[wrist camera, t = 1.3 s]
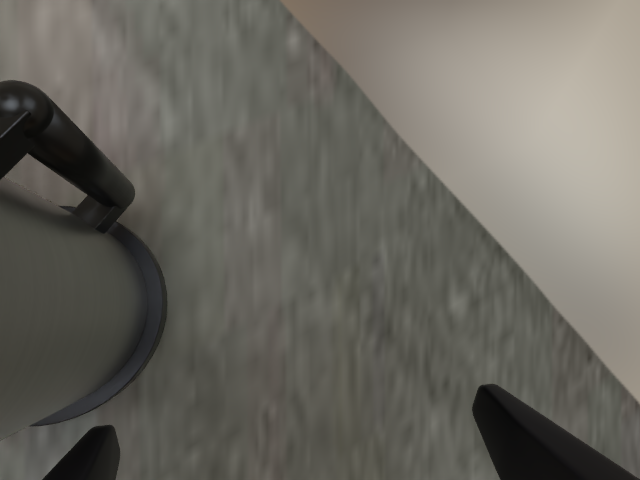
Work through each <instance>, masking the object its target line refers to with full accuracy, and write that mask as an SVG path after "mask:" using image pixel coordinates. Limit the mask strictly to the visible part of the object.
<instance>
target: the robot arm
mask: <svg viewBox="0 0 640 480" xmlns="http://www.w3.org/2000/svg"><path fill="white" fill-rule="evenodd" d="M472 411H473V416H474V419H475V421H476V423H477V426H478V428H479V431H480V433H481V435H482V438H483V440H484V442H485V445H486V447H487V450H488V452H489V454H490V457H491V459H492V462H493V464H494V466H495V469H496V471H497V473H498V475H499V477H500V479H501V480H640V479H638V478H637V477H635V476H634V475H632V474H631V473H629V472H628V471H626V470H625V469H623V468H622V467H620V466H619V465H617V464H616V463H614V462H613V461H611V460H610V459H608V458H607V457H605V456H604V455H602V454H601V453H599V452H598V451H596V450H595V449H593V448H591V447H590V446H588V445H587V444H585V443H584V442H582V441H581V440H579V439H578V438H576V437H575V436H573V435H572V434H570V433H569V432H567V431H566V430H564V429H563V428H561V427H560V426H558V425H557V424H555V423H554V422H552V421H551V420H549V419H548V418H546V417H545V416H543V415H542V414H540V413H539V412H537V411H536V410H534V409H533V408H531V407H529V406H528V405H526V404H525V403H523V402H522V401H520V400H519V399H517V398H516V397H514V396H513V395H511V394H510V393H508V392H507V391H505V390H504V389H502V388H501V387H499V386H498V385H495V384H487V385H481V386H480V387H479V388H478V390H477V393H476V397H475V400H474V403H473V407H472ZM119 460H120V447H119V443H118V439H117V436H116V432H115V428H114V427H113V426H112V425H104V426H96V427H93V428H91V429H90V430H89V431H88V432H87V433H86V434H85V435H84V436H83V437H82V438H81V439H80V440H79V441H78V442H77V444H76V445H75V446H74V447H73V448H72V449H71V450H70V451H69V452H68V453H67V454H66V455H65V456H64V457H63V458H62V459H61V460H60V461H59V462H58V464H57V465H56V466H55V467H54V468H53V469H52V470H51V471H50V472H49V473H48V474H47V475H46V476H45V477H44V478H43V479H42V480H116V475H117V470H118V465H119Z"/></svg>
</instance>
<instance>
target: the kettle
mask: <svg viewBox="0 0 640 480" xmlns="http://www.w3.org/2000/svg"><path fill="white" fill-rule="evenodd" d="M27 153H28V154H29V155H31V156H32V157H34V158H35V159H37V160H38V161H39V162H41V163H42V164H44V165H45V166H47V167H48V168H50V169H51V170H52V171H54V172H55V173H57V174H58V175H60V176H61V177H63V178H64V179H65V180H67V181H68V182H70V183H71V184H73V185H74V186H76V187H77V188H78V189H80V190H81V191H83V192H84V193H86V194H87V195H88V196H87V197H86V198H85V199H84V200H83V201H82V202H81V203H80V205H79V206H78V207H77V208H76V207H70V206H57V205H55V204H53V203H51V202H50V201H48V200H46V199H44V198H42V197H40V196H38V195H36V194H34V193H33V192H31V191H29V190H27V189H25V188H23V187H21V186H19V185H18V184H16V183H14V182H12V181H10V180H8V179H6V178H4V176H5V175H6V174H7V173H8V172H9V171H10V170H11V169H12V168H13V167H14V166H15V165H16V164H17V163H18V162H19V161H20V160H21V159H22V158H23V157H24V156H25V155H26V154H27ZM134 197H135V189H134V187H133V185H132V183H131V182H130V181H129V180H128V179H127V178H126V177H125V176H124V175H123V174H122V173H121V171H120V170H119V169H118V168H117V167H116V166H115V165H114V164H113V163H112V162H111V161H110V160H109V159H108V158H107V157H106V156H105V155H104V154H103V153H102V152H101V151H100V150H99V149H98V148H97V147H96V146H95V145H94V143H93V142H92V141H91V140H90V139H89V138H88V137H87V136H86V135H85V134H84V133H83V132H82V131H81V130H80V129H79V128H78V127H77V126H76V125H75V124H74V123H73V122H72V121H71V120H70V119H69V118H68V117H67V115H66V114H65V113H64V112H63V111H62V110H61V109H60V108H59V107H58V106H57V105H56V104H55V103H54V102H53V101H52V100H51V99H50V98H49V97H48V96H47V95H46V94H45V93H44V92H43V91H41V90H40V89H39V88H37V87H35V86H33V85H31V84H29V83H26V82H22V81H16V80H8V81H2V82H0V441H1V440H3V439H4V438H6V437H8V436H10V435H12V434H14V433H16V432H18V431H20V430H22V429H24V428H26V427H28V426H43V425H49V424H55V423H60V422H63V421H66V420H70V419H73V418H76V417H78V416H80V415H83V414H85V413H87V412H90V411H91V410H93V409H95V408H97V407H98V406H100V405H102V404H104V403H105V402H107V401H108V400H110V399H112V398H113V397H114V396H116V395H117V394H118V393H120V392H121V391H122V390H124V389H125V388H126V387H127V386H128V385H129V384H130V383H131V382H132V381H133V380H134V379H135V378H136V377H137V376H138V375H139V374H140V372H141V371H142V370H143V369H144V368H145V366H146V365H147V363H148V362H149V360H150V359H151V357H152V356H153V354H154V352H155V350H156V348H157V346H158V344H159V341H160V338H161V335H162V333H163V329H164V325H165V320H166V312H167V293H166V287H165V282H164V278H163V275H162V272H161V269H160V266H159V265H158V263H157V261H156V259H155V257H154V255H153V254H152V252H151V251H150V250H149V248H148V247H147V246H146V245H145V244H144V242H143V241H142V240H141V239H140V238H139V237H138V236H136V235H135V234H134V233H133V232H131V231H130V230H129V229H127V228H126V227H124V226H123V225H121V224H119V223H118V222H116V220H117V219H118V218H119V217H120V216H121V214H122V213H123V212H124V211H125V210H126V209H127V208H128V206H129V205H130V204H131V203H132V202H133V200H134Z"/></svg>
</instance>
